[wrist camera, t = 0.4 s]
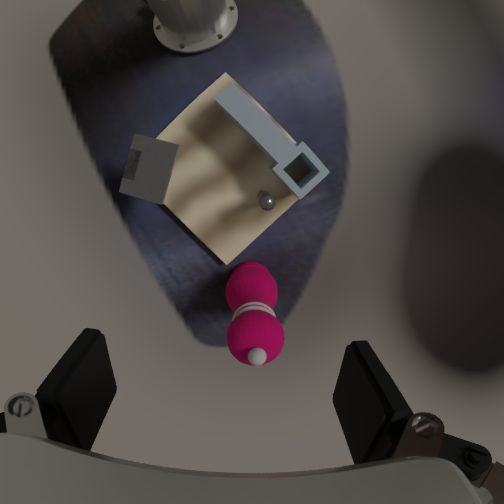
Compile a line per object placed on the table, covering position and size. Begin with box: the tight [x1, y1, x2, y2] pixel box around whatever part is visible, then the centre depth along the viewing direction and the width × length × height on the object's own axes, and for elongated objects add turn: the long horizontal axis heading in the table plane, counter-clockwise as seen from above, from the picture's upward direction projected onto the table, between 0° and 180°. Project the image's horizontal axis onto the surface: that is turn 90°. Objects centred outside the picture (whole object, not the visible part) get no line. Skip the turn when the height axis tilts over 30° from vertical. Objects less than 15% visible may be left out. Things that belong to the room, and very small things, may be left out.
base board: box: [156, 72, 310, 265], centre depth 40 cm, size 20×19×1 cm
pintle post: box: [257, 191, 275, 211], centre depth 38 cm, size 2×2×8 cm
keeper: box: [119, 134, 180, 205], centre depth 35 cm, size 6×7×9 cm
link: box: [214, 82, 330, 199], centre depth 36 cm, size 16×5×6 cm, turn 43°
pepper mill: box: [226, 261, 284, 366], centre depth 36 cm, size 7×7×20 cm
